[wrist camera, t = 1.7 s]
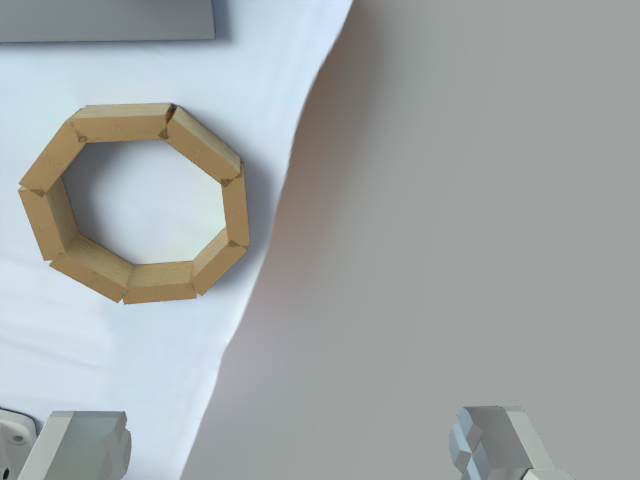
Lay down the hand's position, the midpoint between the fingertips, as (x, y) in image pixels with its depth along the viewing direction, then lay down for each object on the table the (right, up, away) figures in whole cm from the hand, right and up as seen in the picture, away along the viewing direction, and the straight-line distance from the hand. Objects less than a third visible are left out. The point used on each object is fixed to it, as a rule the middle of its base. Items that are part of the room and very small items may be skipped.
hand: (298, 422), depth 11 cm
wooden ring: (-12, +7, +22) cm, 26 cm away
